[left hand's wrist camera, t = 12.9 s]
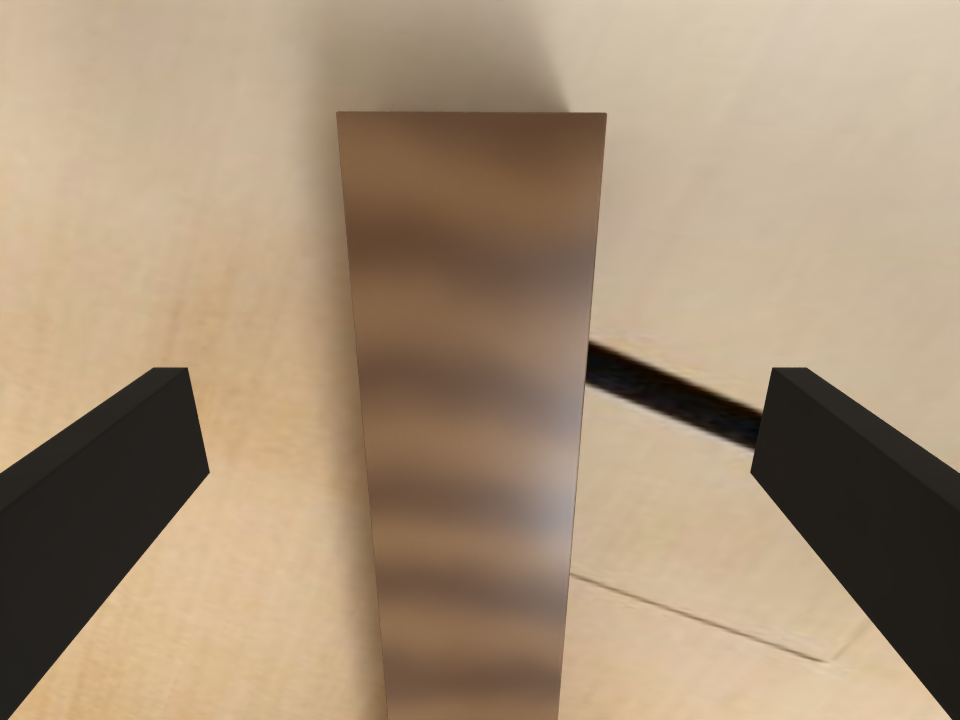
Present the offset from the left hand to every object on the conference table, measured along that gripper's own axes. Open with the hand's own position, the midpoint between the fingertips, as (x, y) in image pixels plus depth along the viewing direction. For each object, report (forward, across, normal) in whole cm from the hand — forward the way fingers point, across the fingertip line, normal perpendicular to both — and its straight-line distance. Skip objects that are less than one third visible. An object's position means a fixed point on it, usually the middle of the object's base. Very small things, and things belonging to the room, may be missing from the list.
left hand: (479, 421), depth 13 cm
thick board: (+18, 0, -34) cm, 38 cm away
